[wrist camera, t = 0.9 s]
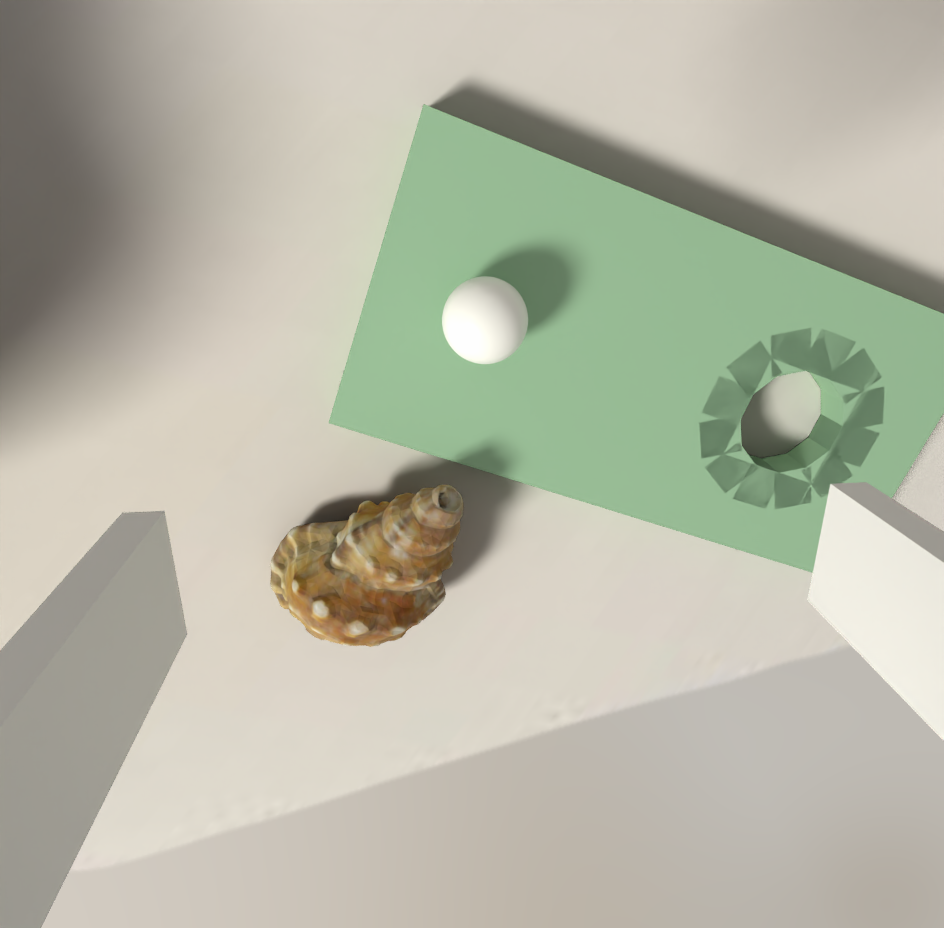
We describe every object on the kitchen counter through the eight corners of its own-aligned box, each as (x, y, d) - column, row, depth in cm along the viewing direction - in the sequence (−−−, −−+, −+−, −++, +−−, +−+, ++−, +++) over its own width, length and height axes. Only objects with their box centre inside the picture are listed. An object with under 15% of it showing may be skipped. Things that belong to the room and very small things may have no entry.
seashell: (307, 451, 38) (355, 444, 29) (437, 502, 41) (516, 510, 32) (243, 614, 37) (272, 661, 28) (382, 654, 40) (449, 709, 31)
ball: (430, 339, 31) (431, 356, 28) (456, 260, 30) (460, 268, 27) (505, 364, 32) (514, 384, 28) (534, 288, 31) (547, 299, 27)
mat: (333, 410, 34) (328, 422, 32) (423, 109, 30) (423, 104, 28) (821, 562, 39) (841, 581, 37) (961, 325, 35) (992, 333, 33)
